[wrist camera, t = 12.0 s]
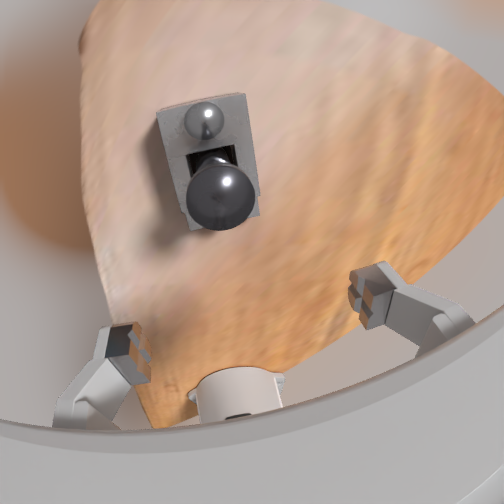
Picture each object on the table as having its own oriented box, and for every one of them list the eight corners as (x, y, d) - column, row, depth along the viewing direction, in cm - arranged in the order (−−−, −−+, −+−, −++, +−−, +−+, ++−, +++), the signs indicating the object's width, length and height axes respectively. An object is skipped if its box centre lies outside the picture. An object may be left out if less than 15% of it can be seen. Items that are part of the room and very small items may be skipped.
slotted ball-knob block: (255, 207, 29) (267, 230, 25) (190, 221, 29) (190, 247, 25) (238, 92, 22) (247, 94, 18) (161, 108, 22) (154, 113, 18)
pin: (237, 175, 27) (259, 222, 19) (194, 185, 27) (195, 237, 19) (230, 133, 25) (250, 160, 16) (184, 143, 24) (178, 176, 16)
